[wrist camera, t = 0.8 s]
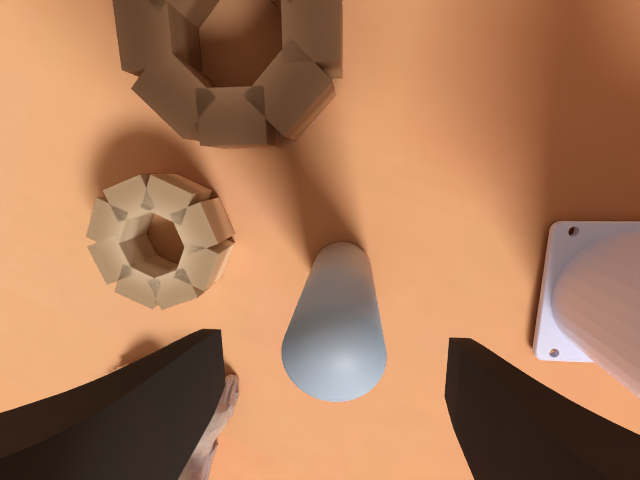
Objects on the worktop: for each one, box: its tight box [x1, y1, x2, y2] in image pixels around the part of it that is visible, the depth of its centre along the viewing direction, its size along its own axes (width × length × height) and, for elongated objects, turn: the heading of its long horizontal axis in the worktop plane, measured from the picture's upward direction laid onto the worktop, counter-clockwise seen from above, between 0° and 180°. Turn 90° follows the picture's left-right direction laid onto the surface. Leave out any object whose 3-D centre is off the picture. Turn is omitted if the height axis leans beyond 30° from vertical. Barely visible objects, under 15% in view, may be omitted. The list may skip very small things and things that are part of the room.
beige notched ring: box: [86, 173, 235, 310], centre depth 19 cm, size 7×7×2 cm
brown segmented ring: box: [113, 0, 343, 148], centre depth 16 cm, size 10×10×3 cm
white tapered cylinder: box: [282, 242, 387, 402], centre depth 15 cm, size 3×3×9 cm
